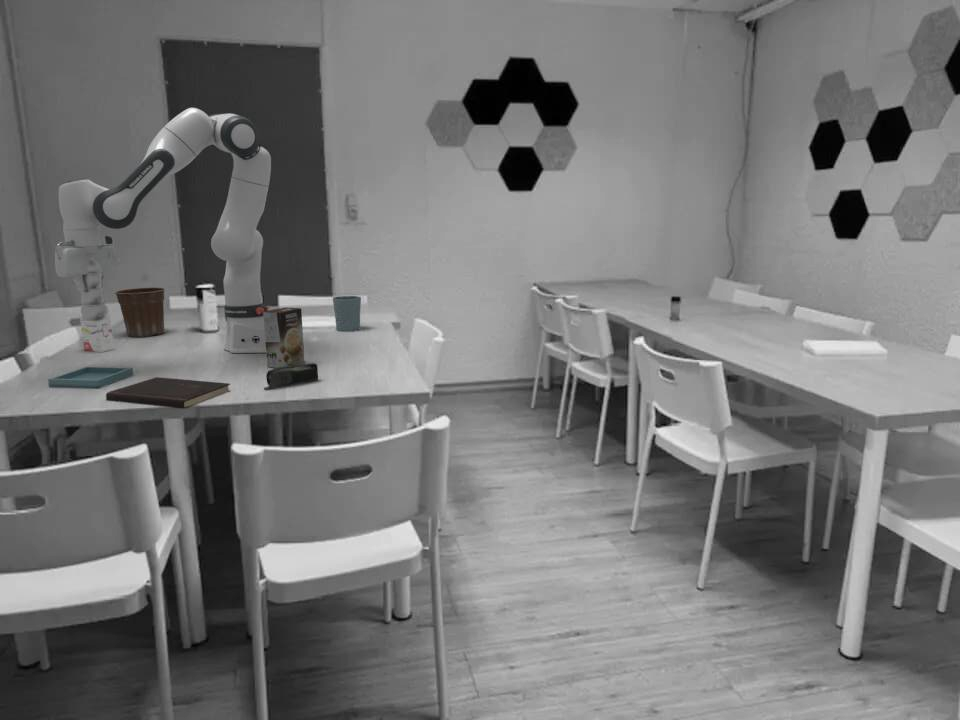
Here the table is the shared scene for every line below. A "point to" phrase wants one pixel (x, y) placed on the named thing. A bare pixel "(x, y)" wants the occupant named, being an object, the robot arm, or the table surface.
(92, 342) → the ink cartridge box
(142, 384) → the hardcover book
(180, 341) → the table surface
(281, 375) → the black long block
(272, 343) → the cookie box
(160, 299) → the plant pot
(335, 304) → the blue cup
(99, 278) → the plastic bottle
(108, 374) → the tray
